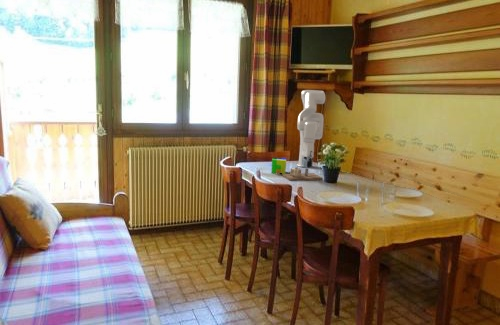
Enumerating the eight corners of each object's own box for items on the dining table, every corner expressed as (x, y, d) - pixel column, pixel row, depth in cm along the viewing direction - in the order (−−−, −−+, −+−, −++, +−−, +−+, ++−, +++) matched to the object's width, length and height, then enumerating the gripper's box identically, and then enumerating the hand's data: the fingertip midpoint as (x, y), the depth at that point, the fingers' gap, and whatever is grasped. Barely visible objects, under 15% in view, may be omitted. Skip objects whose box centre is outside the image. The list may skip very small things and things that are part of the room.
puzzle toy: (285, 171, 290) (286, 158, 288) (285, 174, 280) (286, 160, 278) (271, 170, 291) (272, 157, 289) (271, 173, 281) (272, 159, 279)
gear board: (282, 175, 275) (283, 165, 274) (313, 175, 282) (314, 165, 280) (289, 180, 262) (290, 169, 260) (322, 180, 268) (323, 169, 267)
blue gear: (300, 165, 273) (301, 158, 272) (309, 165, 275) (310, 158, 274) (304, 167, 267) (304, 160, 266) (313, 167, 269) (314, 160, 268)
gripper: (299, 138, 275) (297, 163, 278) (309, 142, 258) (307, 168, 262) (309, 138, 277) (307, 163, 280) (319, 142, 260) (317, 168, 264)
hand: (307, 165), depth 271 cm, fingers closed on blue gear, 6 cm apart
